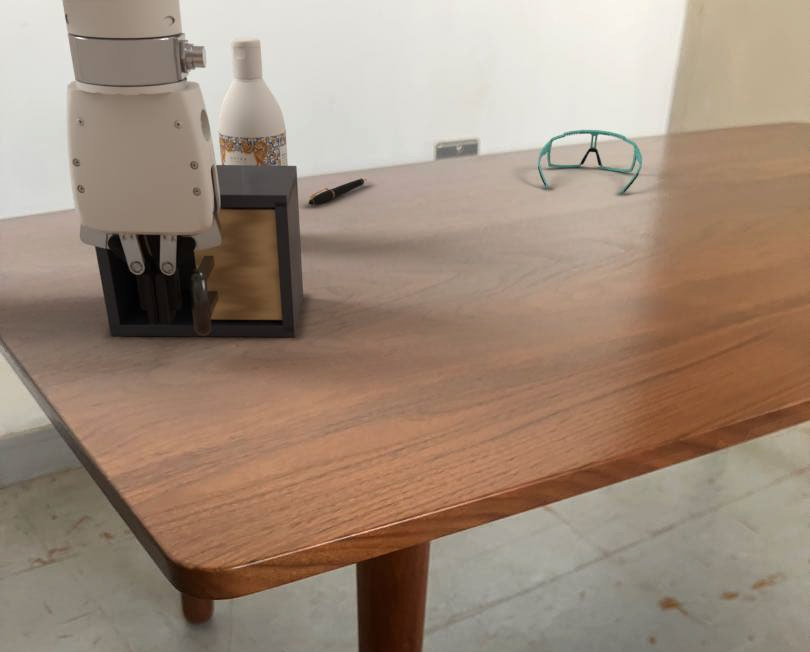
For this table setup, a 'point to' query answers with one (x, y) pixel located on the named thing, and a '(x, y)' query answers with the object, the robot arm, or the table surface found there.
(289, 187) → the cupboard
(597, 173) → the table surface
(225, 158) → the bath foam
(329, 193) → the fountain pen
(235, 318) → the sliding door
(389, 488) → the table surface
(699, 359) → the table surface
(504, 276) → the table surface
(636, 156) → the sunglasses
